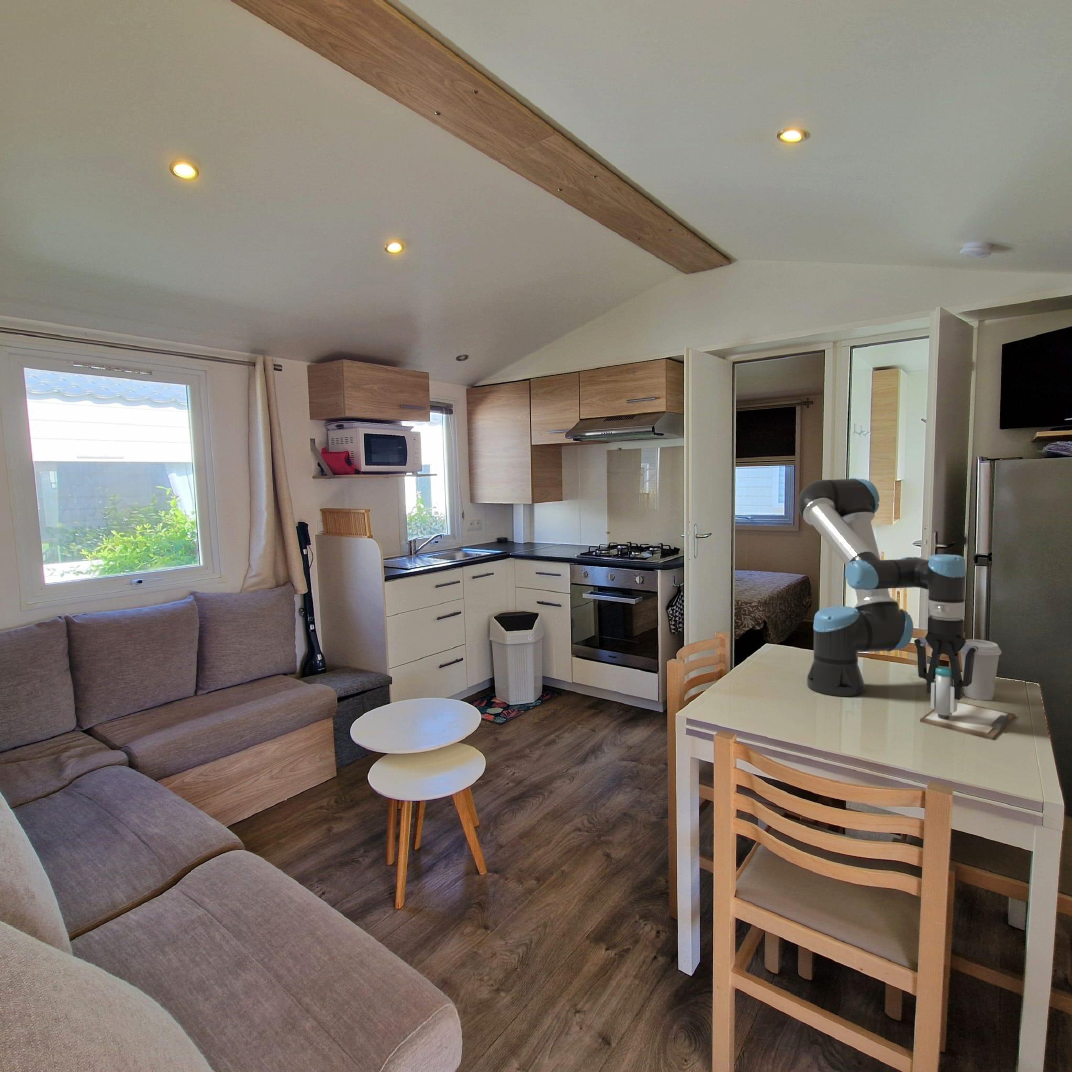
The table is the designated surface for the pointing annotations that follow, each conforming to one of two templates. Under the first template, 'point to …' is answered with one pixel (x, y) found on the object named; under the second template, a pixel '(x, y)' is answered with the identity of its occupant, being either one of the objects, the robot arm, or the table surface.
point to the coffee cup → (982, 669)
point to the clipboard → (972, 720)
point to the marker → (943, 691)
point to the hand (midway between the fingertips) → (943, 708)
